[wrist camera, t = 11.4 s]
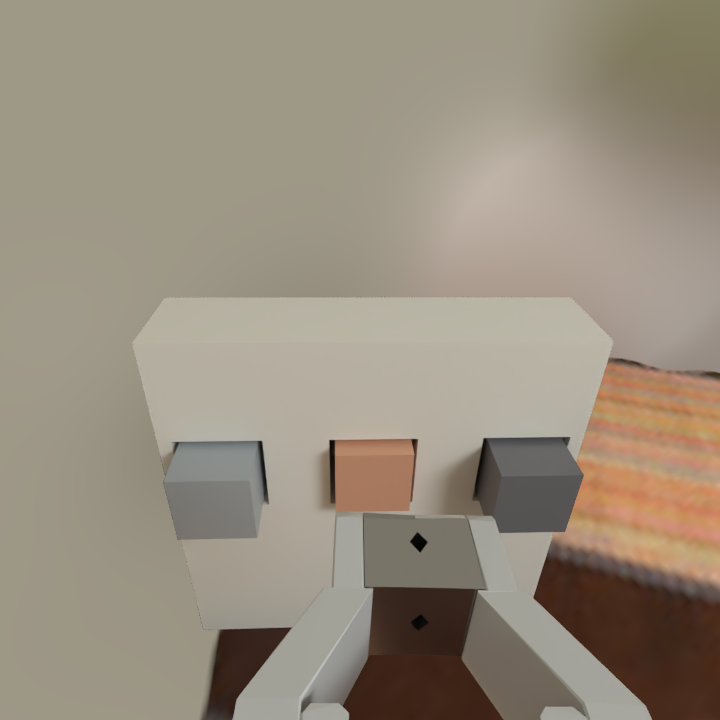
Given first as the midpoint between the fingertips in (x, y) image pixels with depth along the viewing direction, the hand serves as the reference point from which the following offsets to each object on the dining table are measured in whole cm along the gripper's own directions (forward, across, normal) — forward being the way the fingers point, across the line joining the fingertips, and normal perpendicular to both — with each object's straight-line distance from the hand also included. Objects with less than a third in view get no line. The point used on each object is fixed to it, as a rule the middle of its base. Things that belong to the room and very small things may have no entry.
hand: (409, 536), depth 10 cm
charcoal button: (+14, +8, -12) cm, 20 cm away
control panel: (+17, 0, -25) cm, 30 cm away
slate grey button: (+13, -8, -13) cm, 20 cm away
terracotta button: (+15, 0, -13) cm, 20 cm away
